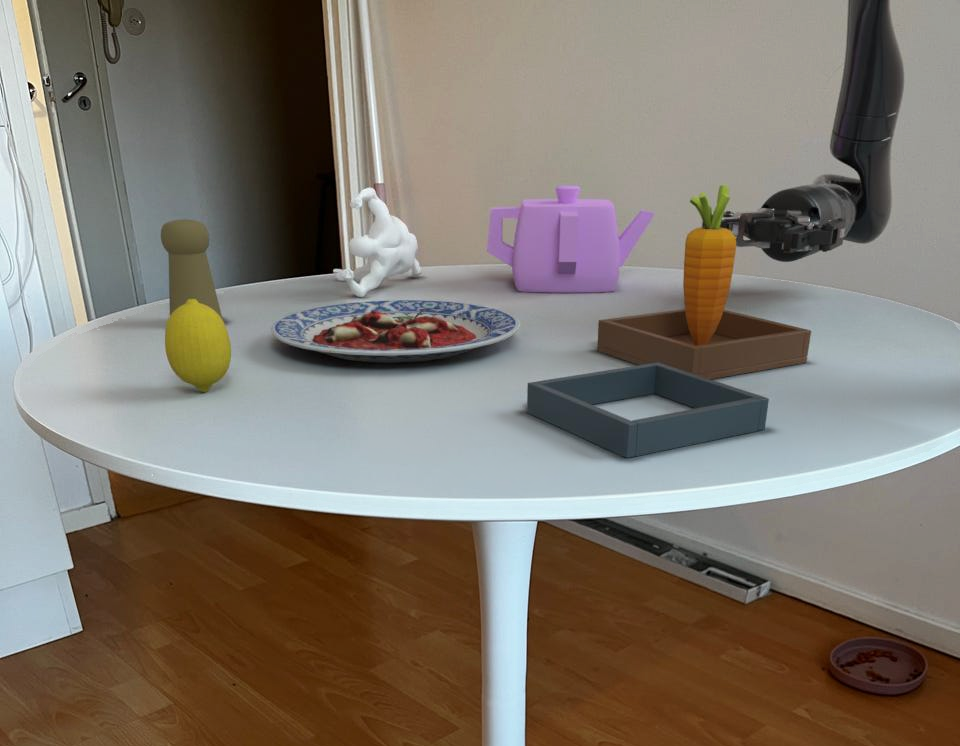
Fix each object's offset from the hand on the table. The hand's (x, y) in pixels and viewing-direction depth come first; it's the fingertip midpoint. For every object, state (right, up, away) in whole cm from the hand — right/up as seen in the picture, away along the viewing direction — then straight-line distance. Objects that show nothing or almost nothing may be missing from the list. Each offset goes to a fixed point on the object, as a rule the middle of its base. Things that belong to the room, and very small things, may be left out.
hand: (746, 238), depth 102 cm
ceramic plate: (-36, -10, +4) cm, 37 cm away
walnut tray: (-5, -13, -2) cm, 14 cm away
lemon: (-52, -19, -13) cm, 57 cm away
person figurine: (-40, +6, +33) cm, 52 cm away
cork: (-60, -4, +14) cm, 62 cm away
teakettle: (-15, +8, +35) cm, 39 cm away
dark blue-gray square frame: (-14, -23, -21) cm, 34 cm away
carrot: (-5, -12, -2) cm, 13 cm away
